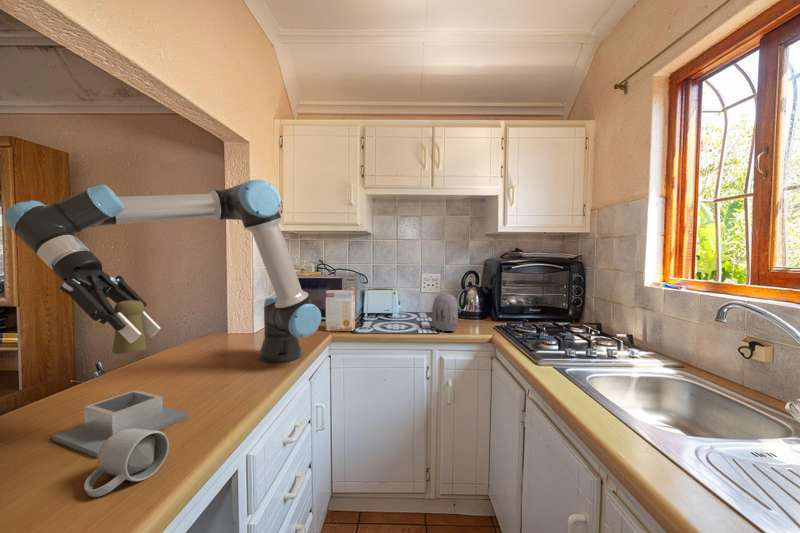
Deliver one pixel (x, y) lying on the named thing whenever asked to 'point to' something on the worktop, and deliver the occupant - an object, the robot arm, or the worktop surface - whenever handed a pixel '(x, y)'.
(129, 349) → the cork
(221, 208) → the robot arm
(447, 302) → the small grey backpack
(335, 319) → the cracker box
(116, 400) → the metal collar
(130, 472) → the ceramic mug
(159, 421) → the base plate
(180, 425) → the worktop surface
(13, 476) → the worktop surface
